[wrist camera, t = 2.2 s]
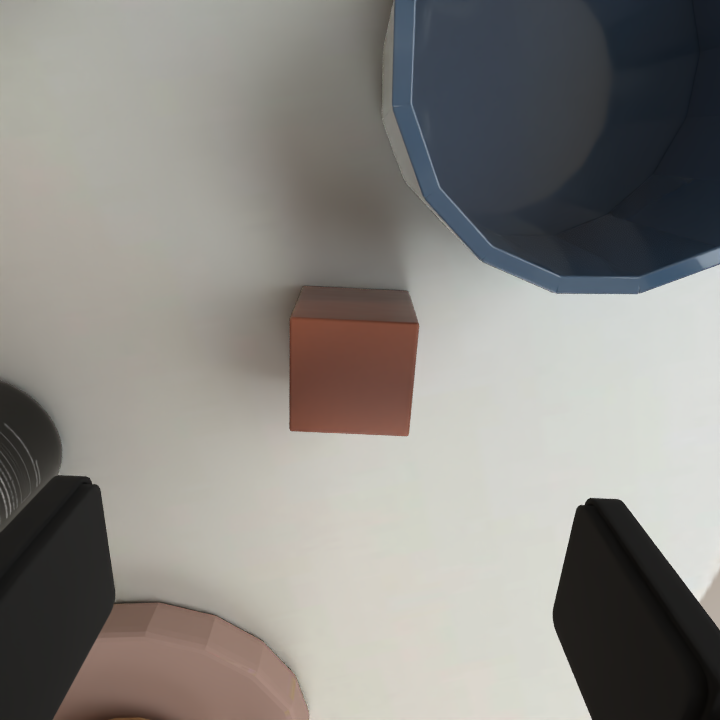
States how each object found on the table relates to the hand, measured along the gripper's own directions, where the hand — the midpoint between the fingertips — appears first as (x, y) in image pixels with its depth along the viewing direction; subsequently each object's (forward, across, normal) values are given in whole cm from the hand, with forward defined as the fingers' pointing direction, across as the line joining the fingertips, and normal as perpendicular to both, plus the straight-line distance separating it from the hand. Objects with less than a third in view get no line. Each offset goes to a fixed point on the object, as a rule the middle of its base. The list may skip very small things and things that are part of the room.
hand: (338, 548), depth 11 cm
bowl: (+13, -6, -10) cm, 18 cm away
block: (+13, 0, 0) cm, 13 cm away
